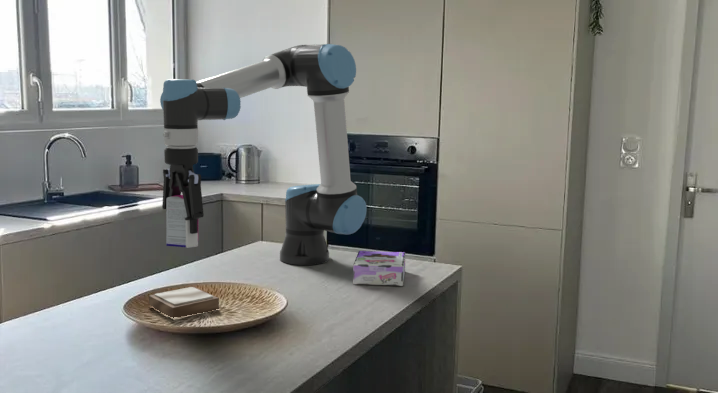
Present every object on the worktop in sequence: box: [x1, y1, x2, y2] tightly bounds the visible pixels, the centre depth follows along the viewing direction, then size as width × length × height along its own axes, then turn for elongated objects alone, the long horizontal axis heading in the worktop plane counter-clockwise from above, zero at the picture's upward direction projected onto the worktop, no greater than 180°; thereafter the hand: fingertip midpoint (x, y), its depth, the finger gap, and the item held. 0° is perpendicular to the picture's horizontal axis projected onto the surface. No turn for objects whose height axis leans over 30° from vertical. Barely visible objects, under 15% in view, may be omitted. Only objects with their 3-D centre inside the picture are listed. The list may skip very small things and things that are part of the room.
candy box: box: [352, 250, 406, 287], centre depth 201 cm, size 14×6×16 cm
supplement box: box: [165, 194, 187, 249], centre depth 168 cm, size 6×6×12 cm
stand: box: [148, 286, 220, 318], centre depth 171 cm, size 12×12×3 cm
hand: (183, 243), depth 169 cm, fingers closed on supplement box, 8 cm apart
